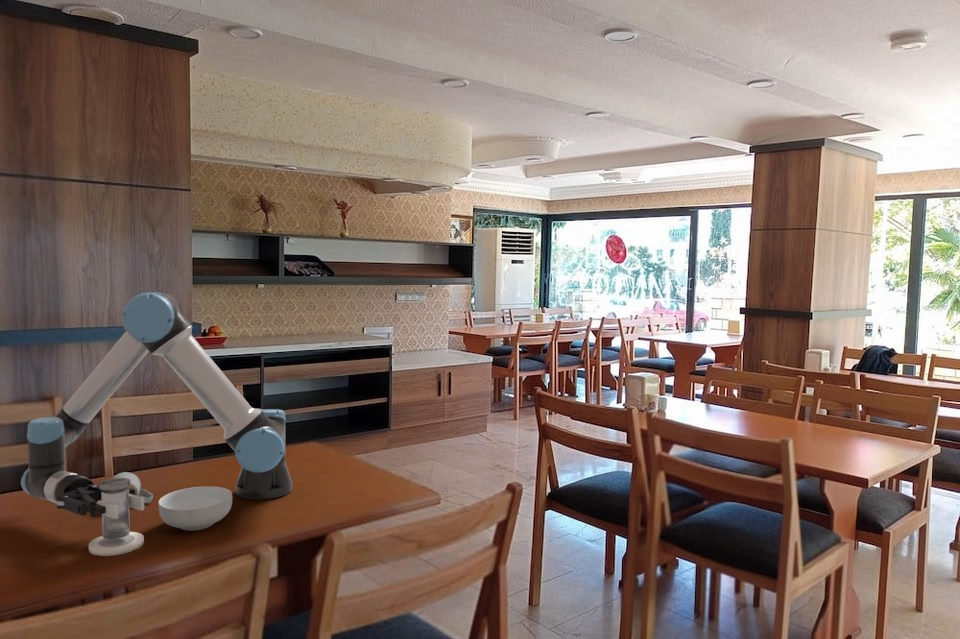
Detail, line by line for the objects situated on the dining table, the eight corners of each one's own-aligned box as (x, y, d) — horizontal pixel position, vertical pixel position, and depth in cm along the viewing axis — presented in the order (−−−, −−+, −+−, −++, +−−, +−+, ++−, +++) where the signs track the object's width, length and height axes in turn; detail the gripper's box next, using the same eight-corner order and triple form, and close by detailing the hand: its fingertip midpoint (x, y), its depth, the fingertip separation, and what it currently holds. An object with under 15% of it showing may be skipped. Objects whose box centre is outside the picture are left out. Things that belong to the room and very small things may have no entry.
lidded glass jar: (137, 529, 162) (135, 478, 161) (122, 540, 155) (121, 486, 154) (110, 528, 162) (108, 477, 161) (94, 539, 156) (93, 486, 155)
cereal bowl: (182, 511, 182) (181, 484, 181) (244, 514, 180) (243, 487, 179) (144, 536, 165) (143, 506, 164) (212, 540, 163) (211, 510, 163)
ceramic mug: (107, 511, 181) (107, 481, 180) (108, 501, 188) (108, 473, 188) (153, 506, 185) (153, 477, 185) (152, 496, 193) (152, 469, 192)
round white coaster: (152, 537, 164) (152, 531, 164) (128, 556, 153) (127, 550, 153) (106, 536, 164) (106, 530, 164) (78, 555, 153) (77, 549, 153)
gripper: (107, 494, 175) (167, 512, 164) (29, 517, 160) (89, 538, 148) (107, 465, 175) (166, 480, 163) (28, 484, 159) (88, 503, 147)
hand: (129, 508), depth 155 cm, fingers closed on lidded glass jar, 5 cm apart
